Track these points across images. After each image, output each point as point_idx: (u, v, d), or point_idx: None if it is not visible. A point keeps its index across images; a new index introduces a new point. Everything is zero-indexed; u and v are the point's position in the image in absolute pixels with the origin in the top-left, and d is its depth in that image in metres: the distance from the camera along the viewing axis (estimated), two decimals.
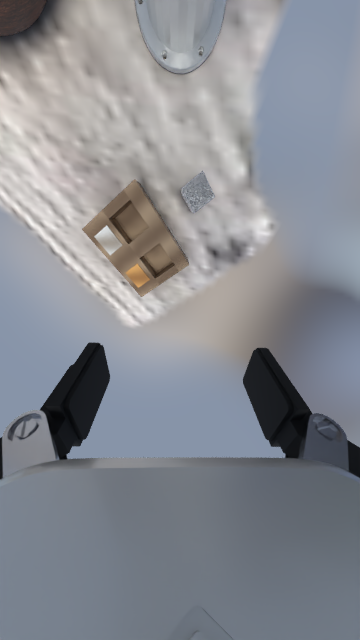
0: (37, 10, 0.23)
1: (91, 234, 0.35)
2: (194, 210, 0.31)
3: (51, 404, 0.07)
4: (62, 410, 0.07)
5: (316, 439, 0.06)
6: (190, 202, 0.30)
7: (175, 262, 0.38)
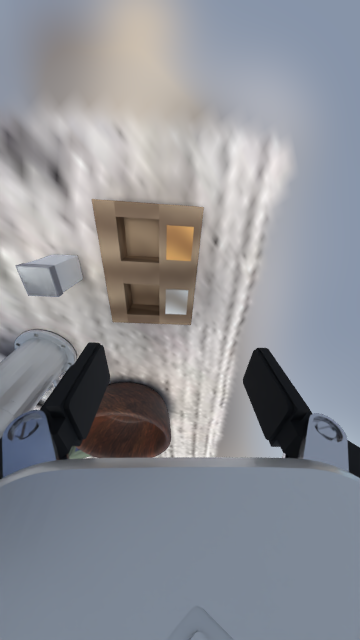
0: (123, 386, 0.43)
1: (187, 316, 0.30)
2: (47, 269, 0.23)
3: (51, 404, 0.07)
4: (62, 410, 0.07)
5: (316, 439, 0.06)
6: (51, 279, 0.23)
7: (113, 220, 0.23)
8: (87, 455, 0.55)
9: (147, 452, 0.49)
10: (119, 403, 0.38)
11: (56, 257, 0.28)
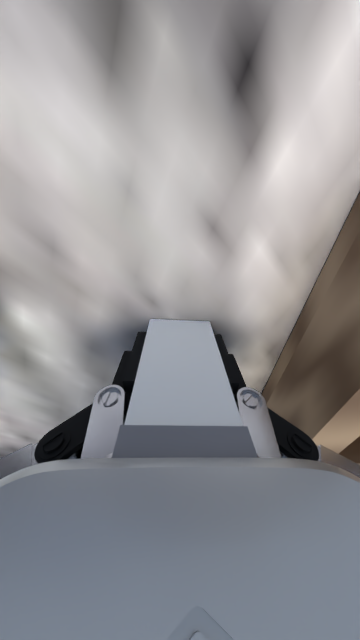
0: None
1: None
2: None
3: (126, 379, 0.08)
4: None
5: (246, 414, 0.07)
6: None
7: None
8: None
9: None
10: None
11: (174, 338, 0.10)
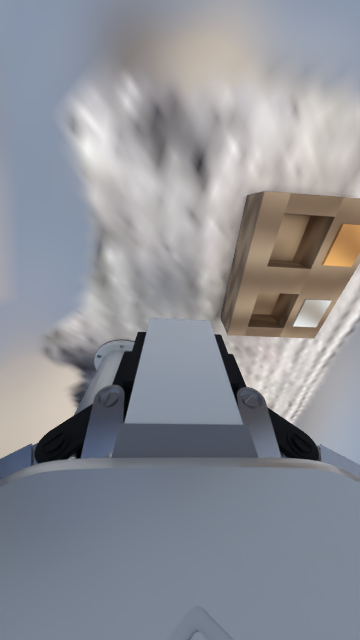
0: None
1: (314, 329, 0.26)
2: None
3: (126, 379, 0.08)
4: None
5: (246, 414, 0.07)
6: None
7: (279, 218, 0.18)
8: None
9: None
10: None
11: (174, 337, 0.10)
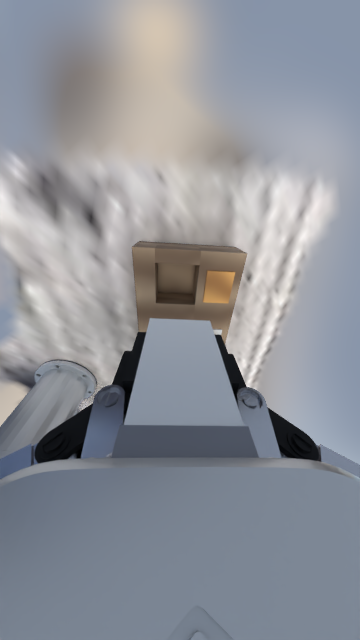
0: None
1: None
2: None
3: (126, 379, 0.08)
4: None
5: (246, 414, 0.07)
6: None
7: (152, 266, 0.22)
8: None
9: None
10: None
11: (174, 338, 0.10)
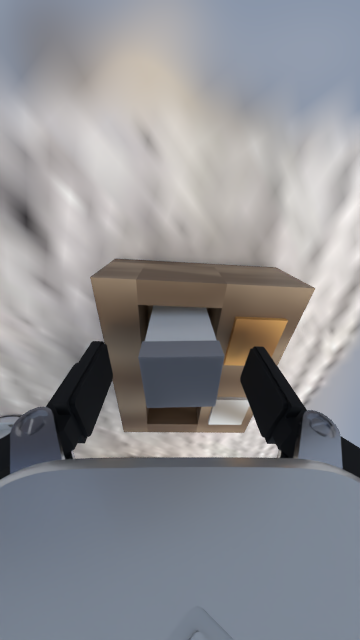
0: None
1: (240, 425, 0.19)
2: (219, 360, 0.09)
3: (57, 401, 0.07)
4: (68, 407, 0.07)
5: (310, 436, 0.06)
6: (215, 379, 0.09)
7: (132, 311, 0.12)
8: None
9: None
10: None
11: None
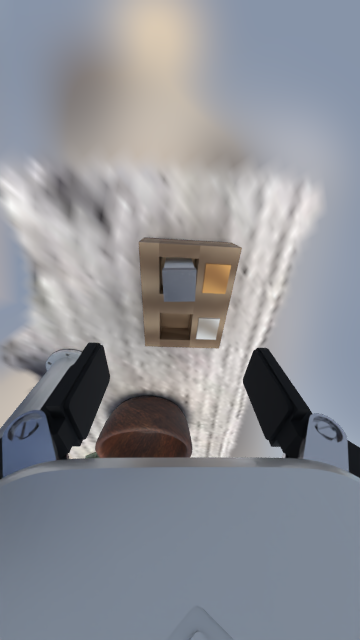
0: (146, 401, 0.45)
1: (216, 341, 0.32)
2: (194, 272, 0.21)
3: (51, 404, 0.07)
4: (62, 410, 0.07)
5: (316, 439, 0.06)
6: (193, 283, 0.22)
7: (156, 259, 0.24)
8: None
9: None
10: (145, 419, 0.40)
11: (176, 260, 0.26)
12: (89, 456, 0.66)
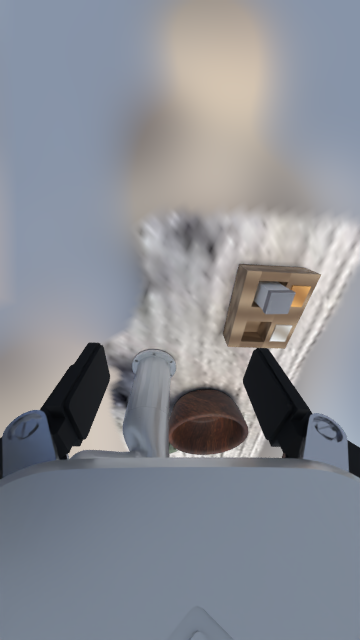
0: (209, 393, 0.53)
1: (284, 342, 0.41)
2: (294, 294, 0.30)
3: (51, 404, 0.07)
4: (62, 410, 0.07)
5: (316, 439, 0.06)
6: (290, 301, 0.30)
7: (256, 282, 0.33)
8: None
9: (221, 447, 0.59)
10: (214, 407, 0.48)
11: (265, 281, 0.35)
12: None
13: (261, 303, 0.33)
